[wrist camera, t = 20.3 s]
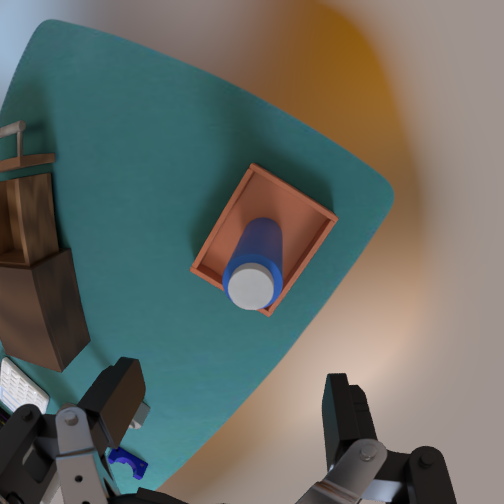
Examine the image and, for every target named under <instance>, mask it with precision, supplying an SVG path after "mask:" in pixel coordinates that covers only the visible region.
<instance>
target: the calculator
mask: <svg viewBox="0 0 504 504" xmlns="http://www.w3.org/2000/svg"><path fill="white" fill-rule="evenodd" d="M0 399H1V400H2V402H3V403H4V404H5V405H6V406H8V407H9V408H10V409H11V410H12V411H13V412H15V410H16V409H17V408H18V407H20V406H21V405H24V404H34V405H36V406H38V407H39V409H40V411H41V413H42V414H45V412H46V409H47V406H48V403H49V396H48V394H47V393H45V392H44V391H43V390H42V389H41V388H40V387H39V386H38V385H36V384H35V383H34V382H33V381H32V380H31V379H30V378H29V377H28V376H27V375H25V374H24V373H23V372H22V371H21V370H20V369H19V368H18V367H17V366H16V365H15V364H14V363H13V362H12V361H11V360H10V359H9V358H7V357H4V358H3V359H2V364H1V376H0Z"/></svg>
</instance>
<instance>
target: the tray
mask: <svg viewBox="0 0 504 504" xmlns="http://www.w3.org/2000/svg"><path fill="white" fill-rule="evenodd" d="M260 217H265V218H269V219H272V220H273V221H275V222H276V223H277V224H278V225H279V226H280V228H281V231H282V237H283V287H282V291H281V293H280V295H279V297H278V298H277V299H276V301H275V302H273V303H272V304H271V305H269V306H267V307H265V308H262V309H257V311H259V312H261V313H263V314H264V315H266V316H268V317H270V316H271V314H272V313H273V312H274V310H275V309H276V307H277V306H278V305H279V303H280V302H281V301H282V299H283V298H284V296H285V295H286V294H287V292H288V291H289V290H290V288H291V287H292V285H293V284H294V283H295V281H296V280H297V278H298V277H299V276H300V274H301V273H302V271H303V270H304V268H305V267H306V266H307V264H308V263H309V261H310V260H311V258H312V257H313V256H314V254H315V253H316V251H317V250H318V248H319V247H320V245H321V244H322V242H323V241H324V240H325V238H326V237H327V235H328V234H329V232H330V231H331V229H332V228H333V226H334V225H335V223H336V222H337V220H338V219H339V218H338V217H337V216H336V214H335V213H333V212H332V211H330V210H329V209H327V208H326V207H324V206H323V205H321V204H320V203H318V202H317V201H315V200H314V199H312V198H310V197H309V196H307V195H306V194H304V193H303V192H301V191H300V190H298V189H296V188H295V187H293V186H292V185H290V184H288V183H287V182H285V181H284V180H282V179H280V178H279V177H277V176H276V175H274V174H272V173H271V172H269V171H267V170H266V169H264V168H262V167H261V166H259V165H257V164H256V163H251V165H250V167H249V168H248V170H247V171H246V173H245V175H244V176H243V178H242V180H241V181H240V183H239V185H238V186H237V188H236V190H235V191H234V193H233V195H232V197H231V198H230V200H229V202H228V203H227V205H226V207H225V208H224V210H223V212H222V214H221V215H220V217H219V219H218V220H217V222H216V224H215V226H214V227H213V229H212V231H211V233H210V234H209V236H208V238H207V240H206V241H205V243H204V245H203V247H202V248H201V250H200V252H199V254H198V256H197V257H196V259H195V261H194V263H193V265H192V266H191V268H190V271H191V272H193V273H194V274H196V275H198V276H199V277H201V278H203V279H204V280H206V281H208V282H209V283H211V284H213V285H214V286H216V287H218V288H219V289H221V290H223V291H224V289H223V284H222V277H223V273H224V270H225V268H226V266H227V264H228V262H229V260H230V258H231V256H232V254H233V252H234V250H235V248H236V246H237V244H238V242H239V239H240V237H241V235H242V233H243V231H244V229H245V227H246V226H247V224H248V223H249V222H250V221H252V220H254V219H256V218H260Z"/></svg>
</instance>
